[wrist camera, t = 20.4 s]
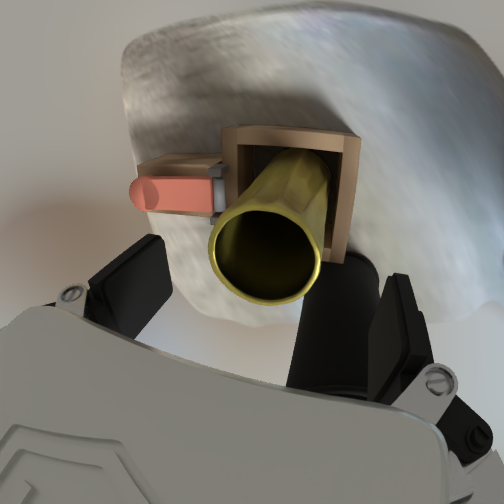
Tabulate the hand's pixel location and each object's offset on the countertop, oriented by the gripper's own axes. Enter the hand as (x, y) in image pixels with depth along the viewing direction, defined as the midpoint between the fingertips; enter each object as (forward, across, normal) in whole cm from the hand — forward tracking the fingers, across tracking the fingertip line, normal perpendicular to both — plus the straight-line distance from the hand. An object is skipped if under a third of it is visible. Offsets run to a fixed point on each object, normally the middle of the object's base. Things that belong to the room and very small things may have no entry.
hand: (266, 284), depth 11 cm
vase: (+16, +1, 0) cm, 16 cm away
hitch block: (+16, +6, 0) cm, 16 cm away
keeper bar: (+10, +10, 0) cm, 14 cm away
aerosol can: (+16, -4, +10) cm, 20 cm away
